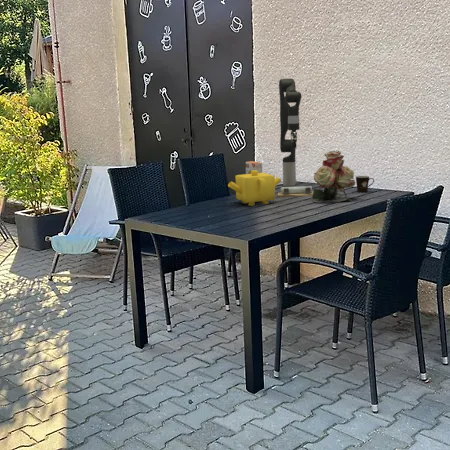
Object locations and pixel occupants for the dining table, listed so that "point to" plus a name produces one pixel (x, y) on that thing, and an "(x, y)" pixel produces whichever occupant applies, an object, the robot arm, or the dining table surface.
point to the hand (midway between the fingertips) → (294, 147)
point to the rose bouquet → (333, 179)
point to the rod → (296, 189)
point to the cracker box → (253, 167)
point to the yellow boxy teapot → (255, 187)
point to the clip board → (286, 193)
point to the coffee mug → (363, 183)
